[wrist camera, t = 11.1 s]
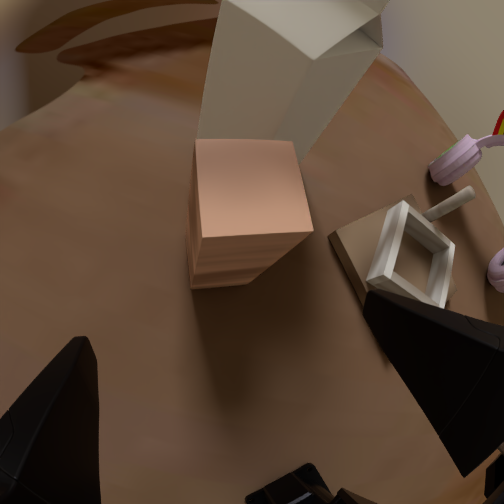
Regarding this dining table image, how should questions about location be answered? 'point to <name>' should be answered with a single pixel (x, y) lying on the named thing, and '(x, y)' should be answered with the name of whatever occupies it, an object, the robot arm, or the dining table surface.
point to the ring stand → (401, 250)
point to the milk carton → (286, 67)
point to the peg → (242, 209)
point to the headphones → (460, 162)
